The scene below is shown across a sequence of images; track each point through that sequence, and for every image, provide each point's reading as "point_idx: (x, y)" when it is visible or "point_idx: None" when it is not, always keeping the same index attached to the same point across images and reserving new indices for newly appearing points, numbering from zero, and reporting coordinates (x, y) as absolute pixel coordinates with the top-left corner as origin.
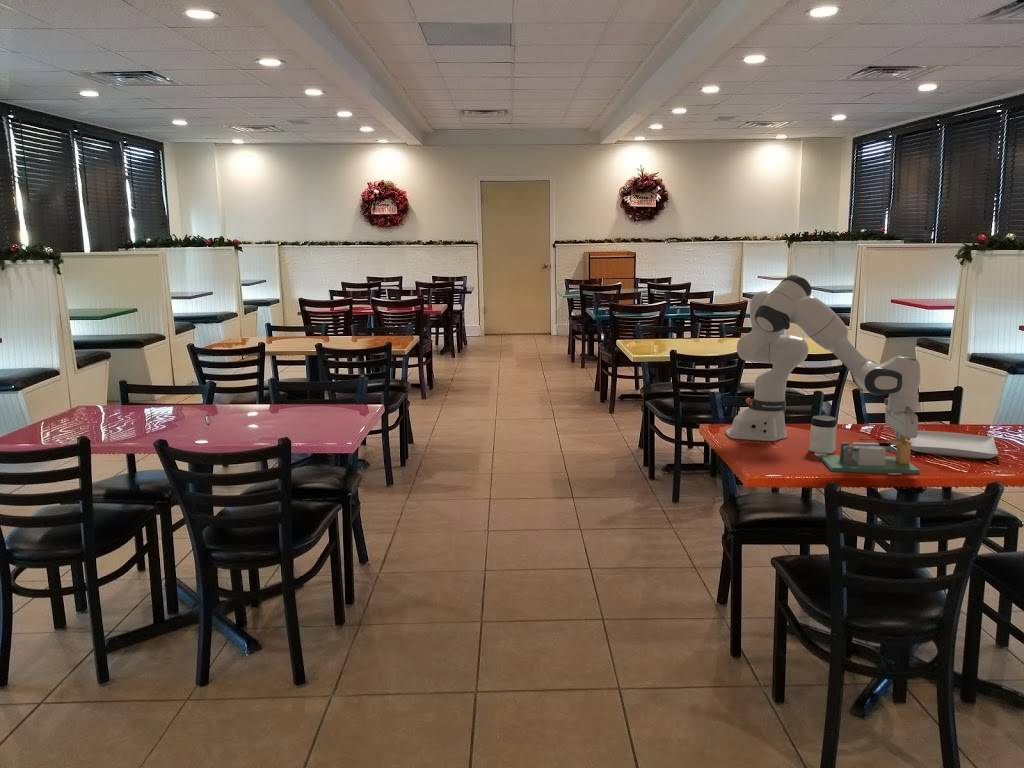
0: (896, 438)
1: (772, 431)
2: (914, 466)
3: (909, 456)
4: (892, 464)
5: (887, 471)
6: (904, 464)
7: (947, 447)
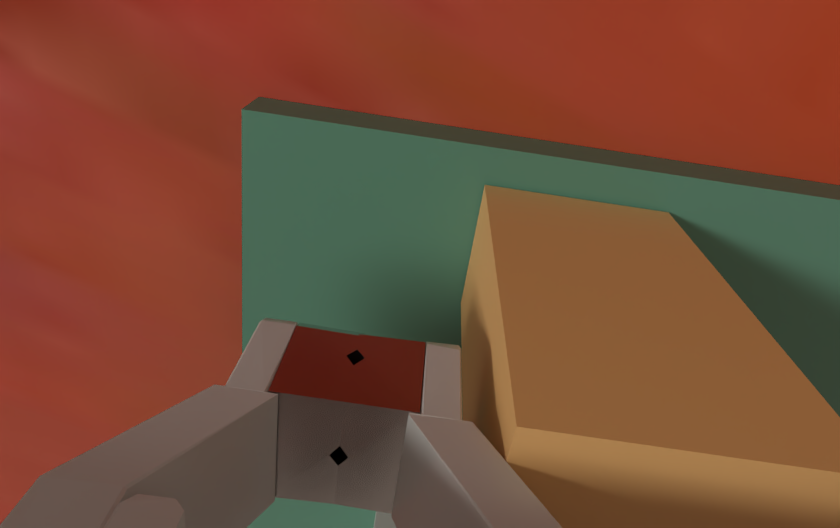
0: (265, 509)
1: None
2: (797, 200)
3: (708, 275)
4: None
5: None
6: None
7: None
